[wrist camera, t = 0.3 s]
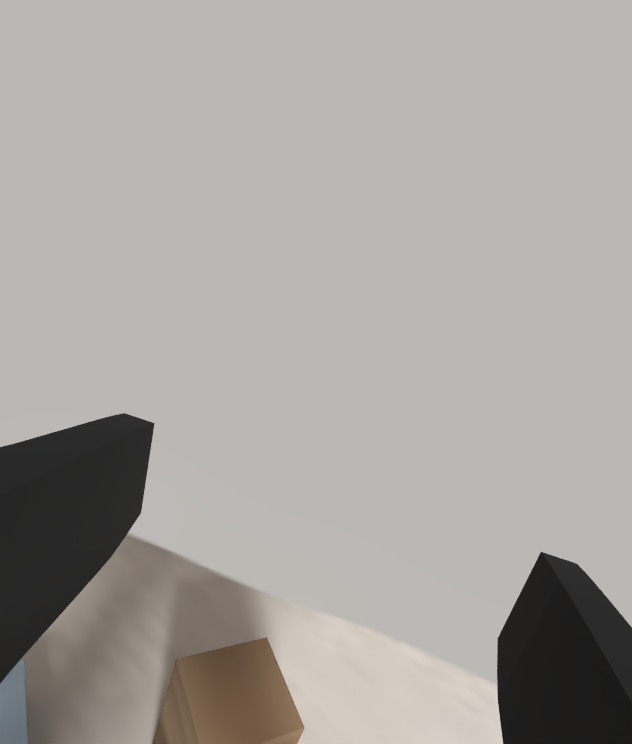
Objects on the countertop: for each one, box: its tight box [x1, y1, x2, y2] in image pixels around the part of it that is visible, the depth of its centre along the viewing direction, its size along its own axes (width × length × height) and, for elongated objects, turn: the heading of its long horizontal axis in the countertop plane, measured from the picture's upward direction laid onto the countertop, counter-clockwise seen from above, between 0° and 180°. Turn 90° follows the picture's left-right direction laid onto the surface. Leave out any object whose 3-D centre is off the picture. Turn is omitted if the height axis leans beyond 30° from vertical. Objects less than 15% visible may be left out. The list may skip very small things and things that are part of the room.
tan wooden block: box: [153, 637, 304, 744], centre depth 23 cm, size 4×4×7 cm
